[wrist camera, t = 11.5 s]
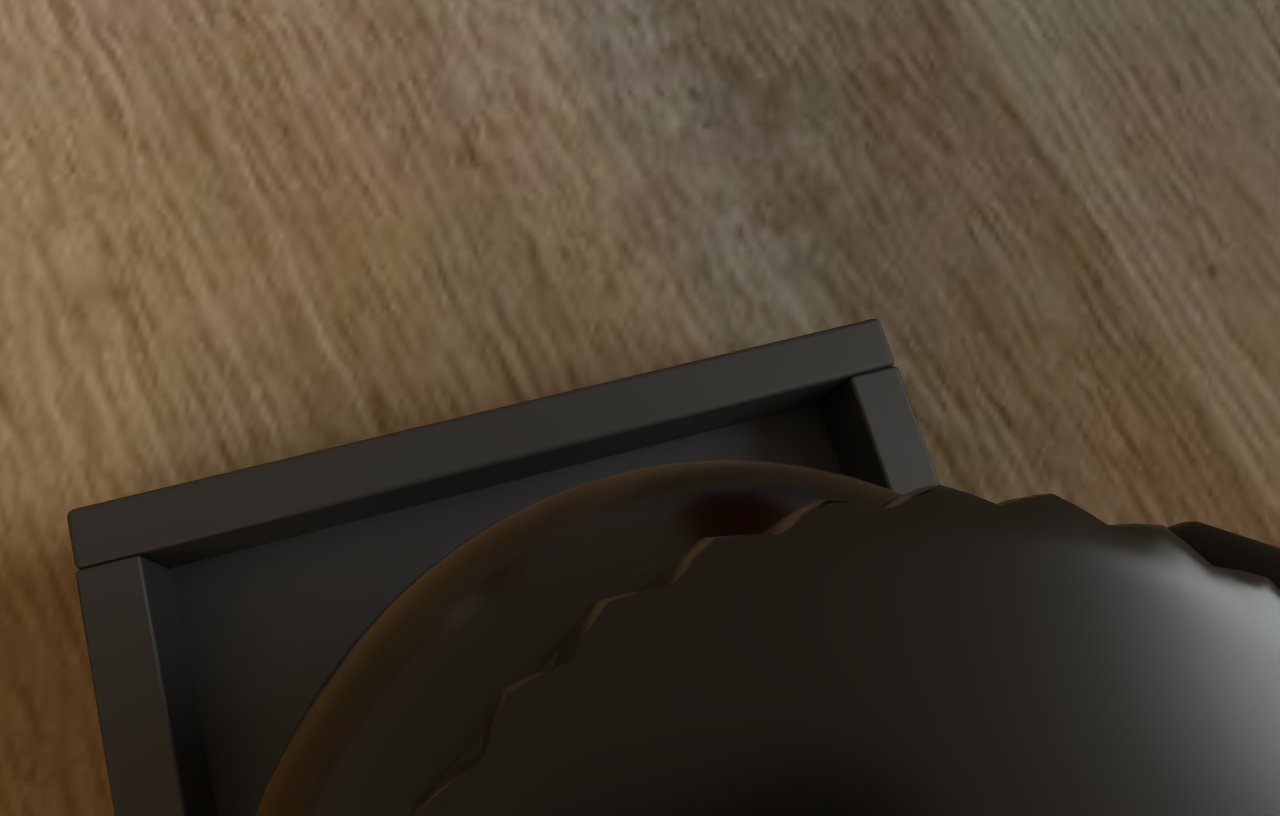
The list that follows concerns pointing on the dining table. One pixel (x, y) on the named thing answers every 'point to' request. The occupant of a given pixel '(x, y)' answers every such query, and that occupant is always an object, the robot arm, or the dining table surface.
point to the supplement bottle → (801, 663)
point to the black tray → (407, 542)
